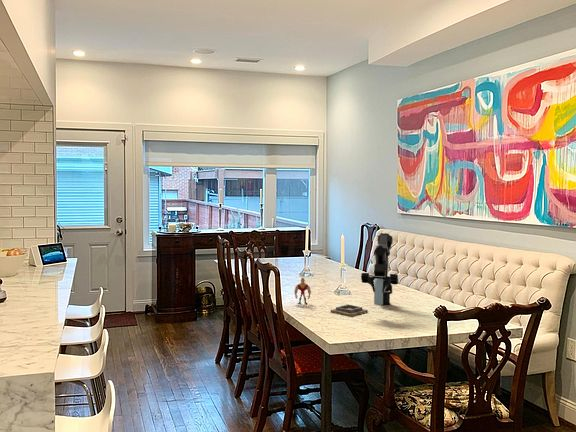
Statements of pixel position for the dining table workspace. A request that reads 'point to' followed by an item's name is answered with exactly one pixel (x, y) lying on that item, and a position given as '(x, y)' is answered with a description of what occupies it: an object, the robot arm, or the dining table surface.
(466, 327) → the dining table surface
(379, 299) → the pale blue cylinder
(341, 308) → the cradle board
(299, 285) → the action figure
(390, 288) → the robot arm
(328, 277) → the dining table surface
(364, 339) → the dining table surface
